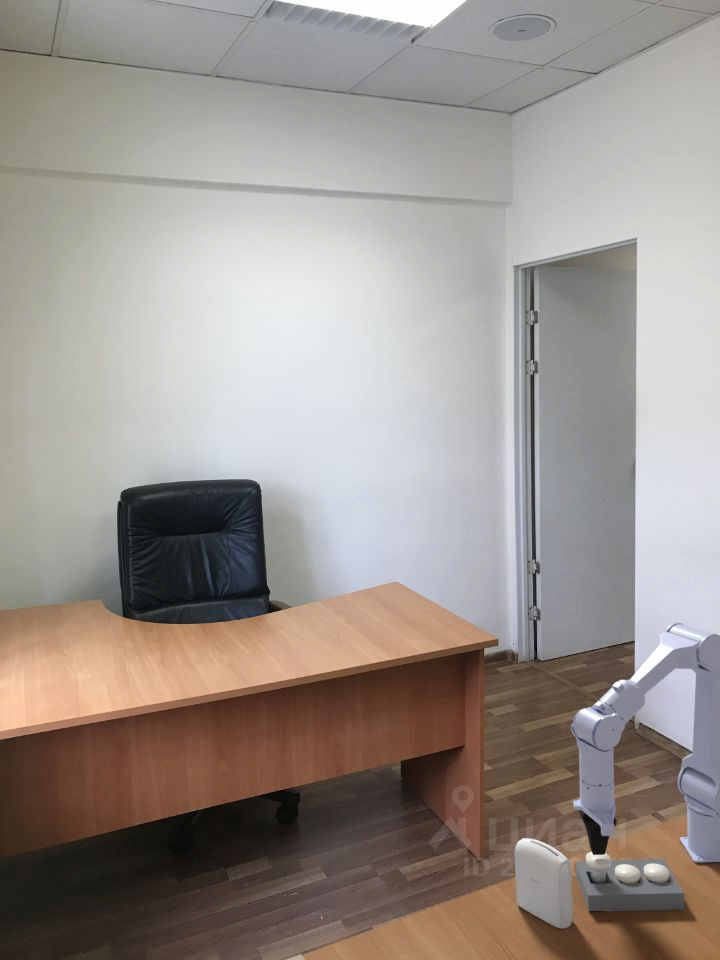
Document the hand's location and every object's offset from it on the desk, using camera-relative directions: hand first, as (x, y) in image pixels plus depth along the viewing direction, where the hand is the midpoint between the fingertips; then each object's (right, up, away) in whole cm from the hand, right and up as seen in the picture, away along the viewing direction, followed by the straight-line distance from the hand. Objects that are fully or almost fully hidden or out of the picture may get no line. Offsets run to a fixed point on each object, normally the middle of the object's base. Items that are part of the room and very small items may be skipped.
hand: (598, 852), depth 142 cm
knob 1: (0, -5, +1) cm, 5 cm away
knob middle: (+5, -7, +1) cm, 9 cm away
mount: (+5, -7, +1) cm, 9 cm away
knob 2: (+10, -7, 0) cm, 13 cm away
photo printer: (-10, -9, -4) cm, 14 cm away
